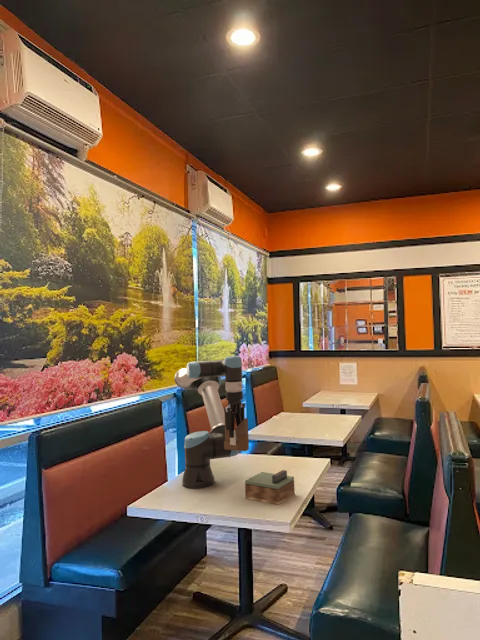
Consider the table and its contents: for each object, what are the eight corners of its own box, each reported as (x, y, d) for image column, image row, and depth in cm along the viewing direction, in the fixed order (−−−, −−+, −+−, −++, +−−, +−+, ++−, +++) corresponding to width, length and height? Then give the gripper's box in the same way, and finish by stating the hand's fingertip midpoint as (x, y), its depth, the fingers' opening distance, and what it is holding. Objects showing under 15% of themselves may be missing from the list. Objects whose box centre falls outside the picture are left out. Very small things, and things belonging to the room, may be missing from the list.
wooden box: (245, 498, 209) (244, 484, 209) (262, 488, 220) (262, 475, 220) (278, 504, 200) (277, 489, 200) (294, 494, 211) (294, 480, 211)
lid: (244, 483, 209) (244, 473, 209) (262, 474, 220) (261, 465, 220) (277, 489, 200) (277, 478, 200) (294, 479, 211) (293, 469, 211)
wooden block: (245, 451, 216) (244, 410, 216) (224, 449, 220) (222, 409, 220) (249, 449, 219) (247, 408, 219) (227, 447, 224) (225, 407, 224)
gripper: (230, 394, 211) (232, 448, 210) (251, 388, 225) (253, 440, 225) (215, 393, 215) (217, 447, 215) (237, 388, 229) (239, 438, 229)
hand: (236, 443), depth 220 cm, fingers closed on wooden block, 4 cm apart
